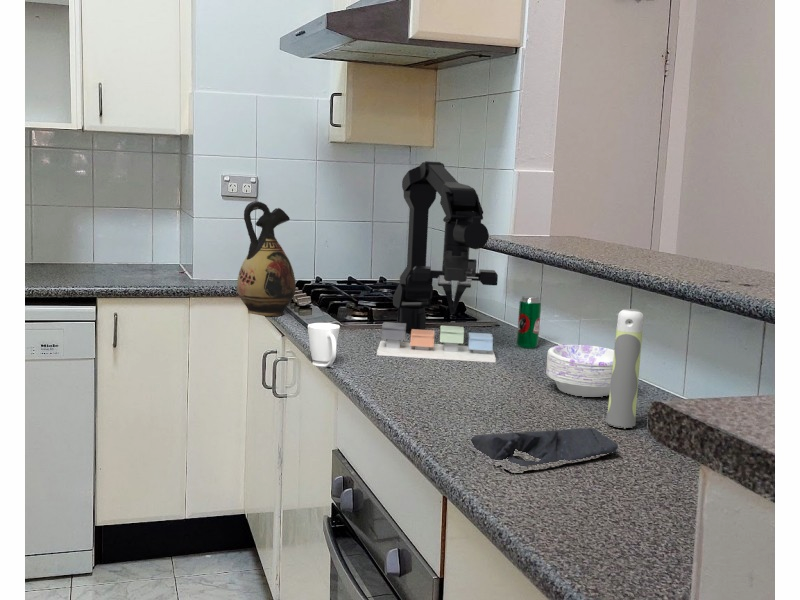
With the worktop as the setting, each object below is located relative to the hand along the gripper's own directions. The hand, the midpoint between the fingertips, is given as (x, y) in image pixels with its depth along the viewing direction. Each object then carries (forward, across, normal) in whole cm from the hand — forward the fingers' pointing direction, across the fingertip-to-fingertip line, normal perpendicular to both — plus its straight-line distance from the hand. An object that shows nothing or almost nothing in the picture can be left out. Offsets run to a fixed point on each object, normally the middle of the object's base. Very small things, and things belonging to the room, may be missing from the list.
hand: (452, 313), depth 196 cm
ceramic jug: (+9, -50, +36) cm, 62 cm away
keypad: (+9, -3, 0) cm, 10 cm away
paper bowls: (+9, +26, -27) cm, 39 cm away
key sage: (+6, 0, 0) cm, 6 cm away
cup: (+9, -26, -19) cm, 33 cm away
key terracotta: (+7, -6, 0) cm, 10 cm away
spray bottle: (+9, +28, -49) cm, 57 cm away
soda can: (+9, +19, +13) cm, 25 cm away
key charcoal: (+6, -13, 0) cm, 14 cm away
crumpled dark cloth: (+10, +13, -65) cm, 68 cm away
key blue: (+7, +7, 0) cm, 10 cm away
